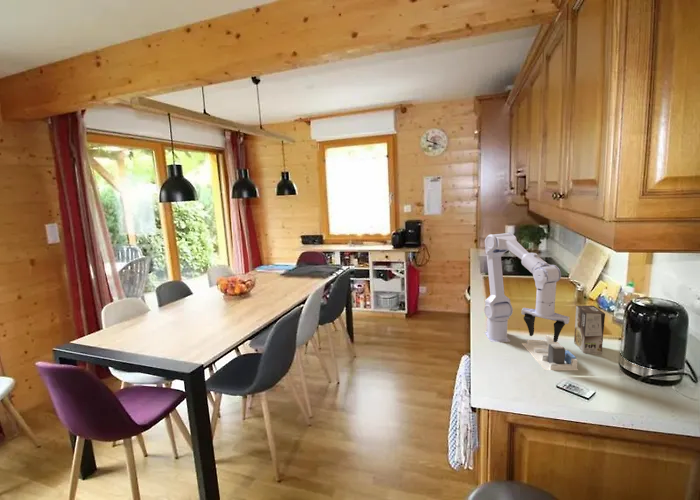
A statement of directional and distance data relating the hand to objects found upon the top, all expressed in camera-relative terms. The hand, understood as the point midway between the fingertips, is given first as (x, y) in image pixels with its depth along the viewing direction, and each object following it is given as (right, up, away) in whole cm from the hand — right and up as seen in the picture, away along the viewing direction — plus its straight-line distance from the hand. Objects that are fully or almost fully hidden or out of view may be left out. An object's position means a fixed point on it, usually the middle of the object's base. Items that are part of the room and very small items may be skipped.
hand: (543, 338), depth 124 cm
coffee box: (+23, -7, +12) cm, 27 cm away
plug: (+5, -9, +1) cm, 11 cm away
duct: (+6, -9, +8) cm, 13 cm away
